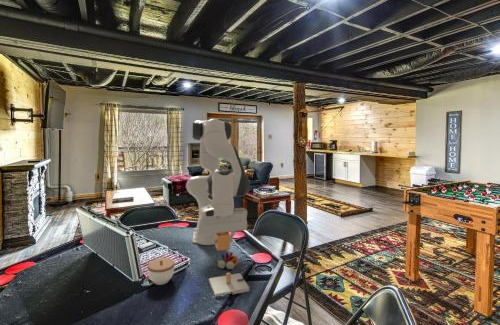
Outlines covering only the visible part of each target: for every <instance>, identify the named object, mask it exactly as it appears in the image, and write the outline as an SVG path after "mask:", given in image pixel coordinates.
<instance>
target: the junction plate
mask: <svg viewBox="0 0 500 325" xmlns="http://www.w3.org/2000/svg"><path fill="white" fill-rule="evenodd" d="M208 283H209V285H211V286H210V287H211V290H213V291H212V293H213V292H214V293H213V296H214V295H215V296H214V298H215V297H216V296H220V295H223V294H227V293H230V292H232V293H233V294H232V295H237V294H242V293H247V292H250V286H249V285H248V284H247V282H246V281H245V278H243V276H242V274H241V273H240V272H239V273H231V272H226V273H225V275H221V276H214V277H210V278H208Z"/></svg>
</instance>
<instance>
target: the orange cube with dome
mask: <svg viewBox="0 0 500 325" xmlns="http://www.w3.org/2000/svg"><path fill="white" fill-rule="evenodd" d="M230 235H231V233H230V232H223V233H215V238H216V239H217V243H216V244H214V246H215V248H216V251H227V250H231V242H230Z"/></svg>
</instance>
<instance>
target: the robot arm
mask: <svg viewBox="0 0 500 325" xmlns="http://www.w3.org/2000/svg"><path fill="white" fill-rule="evenodd" d="M190 134H191V137H192V138H193V139H194V140H196V141H200V145H199V166H200V167H201V168H202V169H203V170H206V171H208V172H209V174H208V175H196V176H192V177H189V178H188V179H187V182H186V184H185V185H186V187H185V188H186V190H187V192H188V194H189V195H191V196H192V197H193V198H194V199H195V200H196V202H197V204H198V219H197V225H196V227H194V228H193V234H192V235H193V236H192V242H191V243H193V244H199V245H201V246H203V245H204V246H211V245H215V244H216V243H217V239H216V238H215V233H223V232H229V233H230V243H232V242H233V238H234V237H235V235H236V232H240V231H241V232H242V231H247V229H248V221H247V220H248V219H247V217H248V210H247V209H246V208H244V207H235V199H234V197H238V198H239V197H240V198H243V197H244V196H246V195H247V194H248V193H249V191H250V190H251V189H250V188H251V184H250V180H249V179H250V178H249V176H248V175H247V173H246V171H245V168H244V167H243V163H242V161H241V158H240V155H239V152H238V150H237V148H236V147H235V146H234V145H232V144H231V143H230V142H229V140H230V139H231V138H232V135H233V127H232V124H231V123H230V122H229V121H226V120H223V121H222V120H220V119H218V118H211V119H206V120H195V121H193V122H192V123H191V126H190ZM220 159H223V160H226V161H227V162H228V163H230V165H231V168H232V170H231V169H229V168H227V167H221V165H220ZM209 196H211V197H212V199H211V198H209Z"/></svg>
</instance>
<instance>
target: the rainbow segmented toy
mask: <svg viewBox="0 0 500 325" xmlns="http://www.w3.org/2000/svg"><path fill="white" fill-rule="evenodd" d="M233 254H234V252H230V253H229V252H228V251H227V250H224V253H222V252H221V253H219V258H218V259H217V266H218V268H219V269H220V268H221V269H222V270H224V269H225V268H226V269H227V270H229V269H232V270H233V269H234V268H235V267H236V266H238V257H237V255H236V256H235V255H234V256H233Z"/></svg>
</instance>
